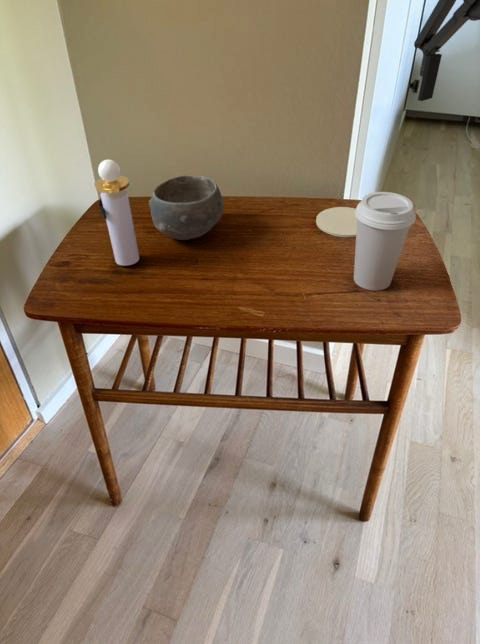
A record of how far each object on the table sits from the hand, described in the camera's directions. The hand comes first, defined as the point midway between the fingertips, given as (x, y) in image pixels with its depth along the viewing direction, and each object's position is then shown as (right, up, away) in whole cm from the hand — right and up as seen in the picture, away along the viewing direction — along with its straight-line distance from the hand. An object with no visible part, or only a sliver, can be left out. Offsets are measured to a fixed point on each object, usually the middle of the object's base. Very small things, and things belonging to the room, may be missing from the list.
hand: (460, 109), depth 76 cm
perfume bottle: (-56, -22, +16) cm, 62 cm away
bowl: (-45, -15, +24) cm, 53 cm away
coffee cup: (-11, -26, +11) cm, 30 cm away
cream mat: (-12, -12, +26) cm, 31 cm away
